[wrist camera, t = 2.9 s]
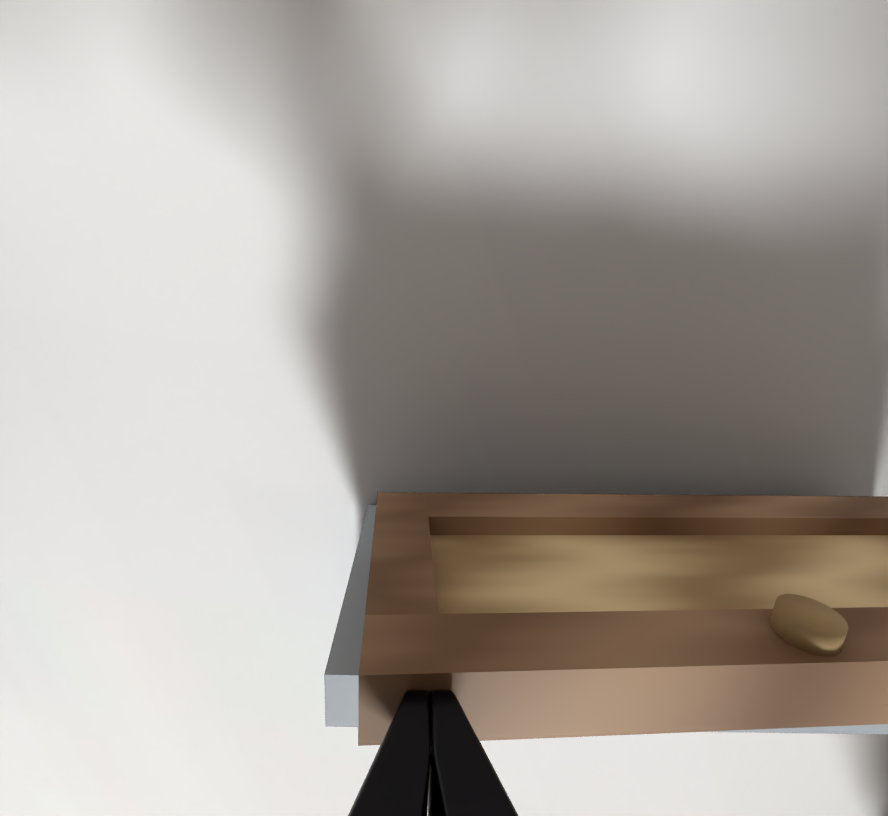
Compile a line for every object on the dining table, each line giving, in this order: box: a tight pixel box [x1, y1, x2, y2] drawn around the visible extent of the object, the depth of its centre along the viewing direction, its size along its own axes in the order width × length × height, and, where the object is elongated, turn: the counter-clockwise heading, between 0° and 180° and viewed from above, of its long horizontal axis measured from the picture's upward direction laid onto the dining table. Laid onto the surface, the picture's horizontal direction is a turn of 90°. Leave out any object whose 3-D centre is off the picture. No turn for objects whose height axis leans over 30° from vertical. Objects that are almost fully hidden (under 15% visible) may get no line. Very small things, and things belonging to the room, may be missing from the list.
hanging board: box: [324, 505, 888, 734], centre depth 16 cm, size 20×6×8 cm, turn 87°
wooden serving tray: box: [358, 492, 888, 746], centre depth 13 cm, size 18×2×7 cm, turn 87°
